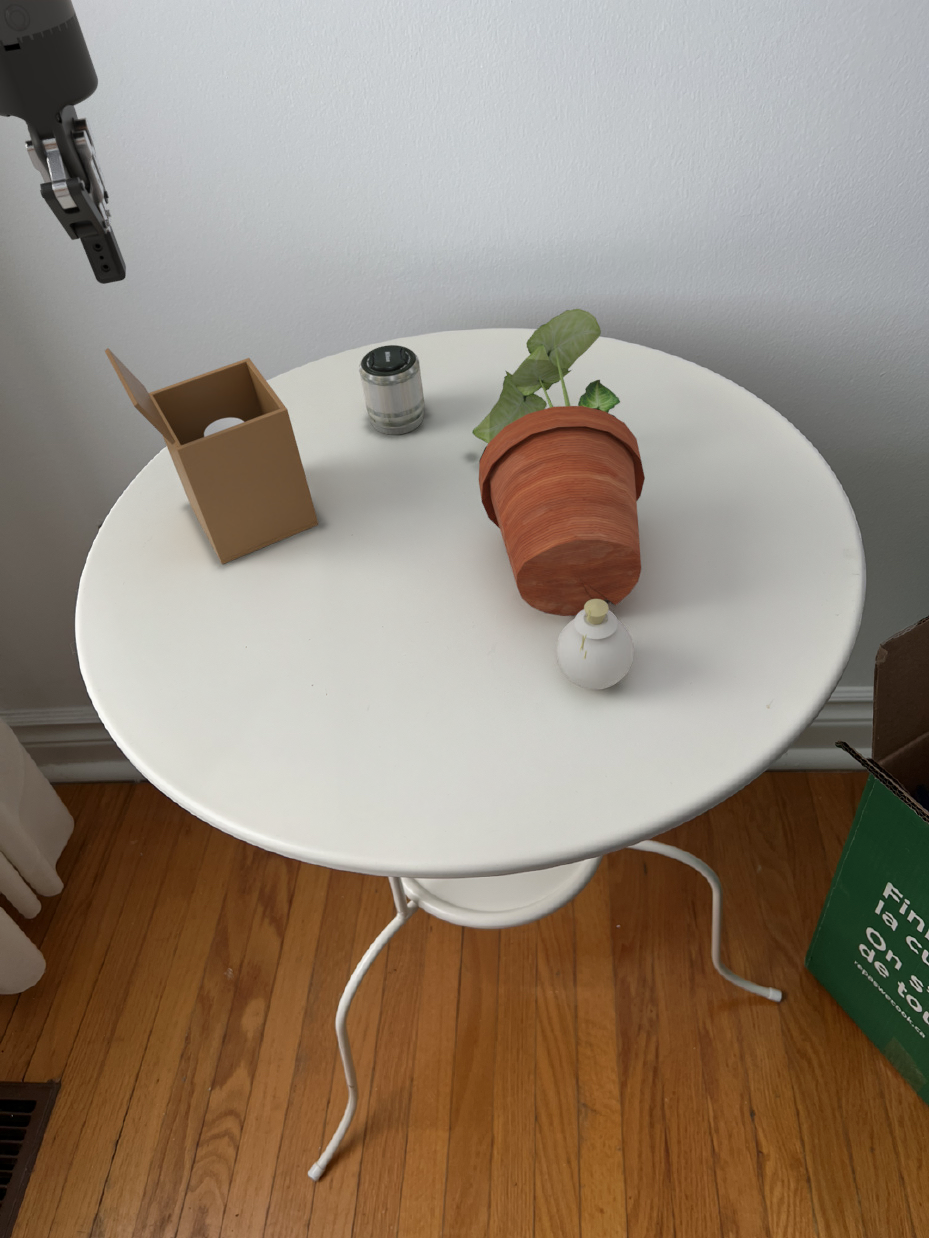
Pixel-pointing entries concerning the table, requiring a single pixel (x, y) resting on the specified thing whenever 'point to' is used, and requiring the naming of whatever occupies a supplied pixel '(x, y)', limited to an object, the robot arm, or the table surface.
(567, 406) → the potted plant
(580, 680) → the white potion bottle
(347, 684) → the table surface
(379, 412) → the camera lens
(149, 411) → the flap
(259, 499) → the carton
